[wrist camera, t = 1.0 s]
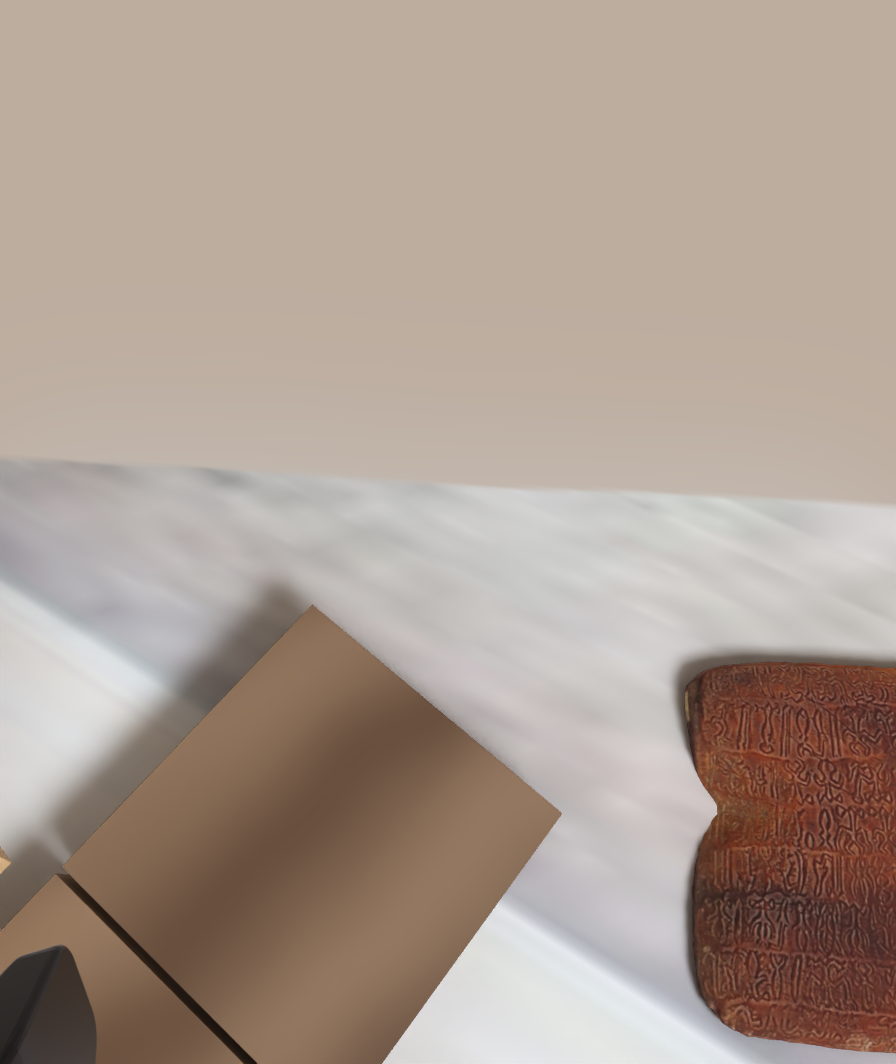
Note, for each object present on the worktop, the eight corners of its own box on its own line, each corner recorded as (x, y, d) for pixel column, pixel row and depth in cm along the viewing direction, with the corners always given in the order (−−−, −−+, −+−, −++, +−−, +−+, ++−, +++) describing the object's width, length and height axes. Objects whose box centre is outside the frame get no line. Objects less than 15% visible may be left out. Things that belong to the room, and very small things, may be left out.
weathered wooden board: (551, 819, 23) (562, 813, 22) (27, 1541, 17) (-6, 1601, 15) (316, 622, 25) (312, 604, 24) (-237, 1208, 19) (-289, 1233, 17)
